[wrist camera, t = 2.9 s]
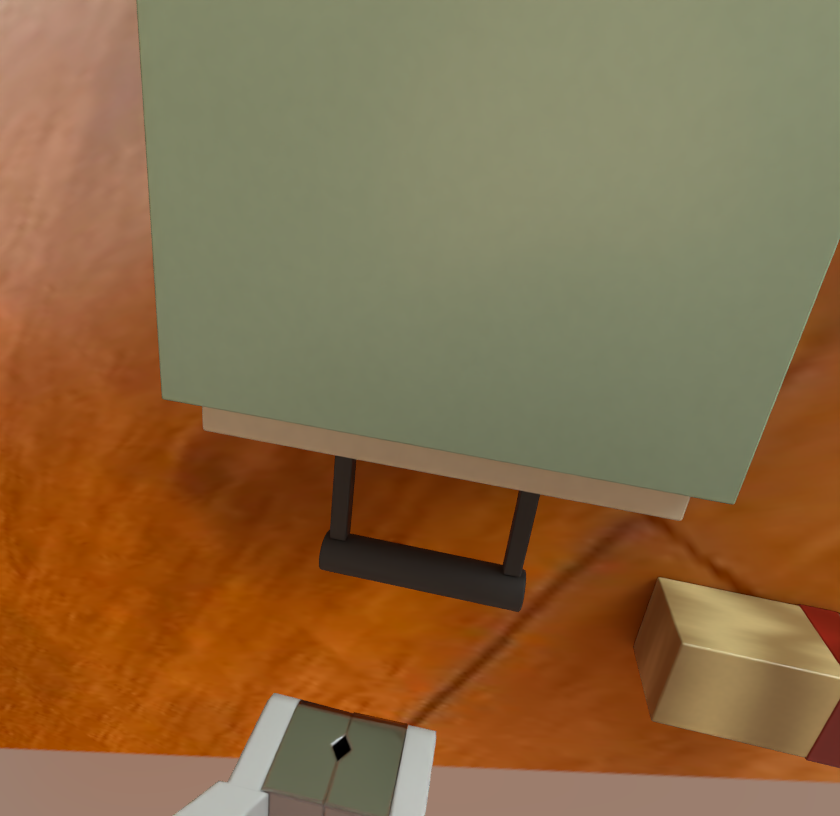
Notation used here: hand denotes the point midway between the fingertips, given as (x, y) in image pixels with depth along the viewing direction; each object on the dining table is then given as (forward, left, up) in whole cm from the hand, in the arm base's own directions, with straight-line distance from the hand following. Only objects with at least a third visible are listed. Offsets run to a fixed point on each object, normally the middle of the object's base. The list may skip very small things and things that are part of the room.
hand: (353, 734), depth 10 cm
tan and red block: (-15, +8, -15) cm, 22 cm away
